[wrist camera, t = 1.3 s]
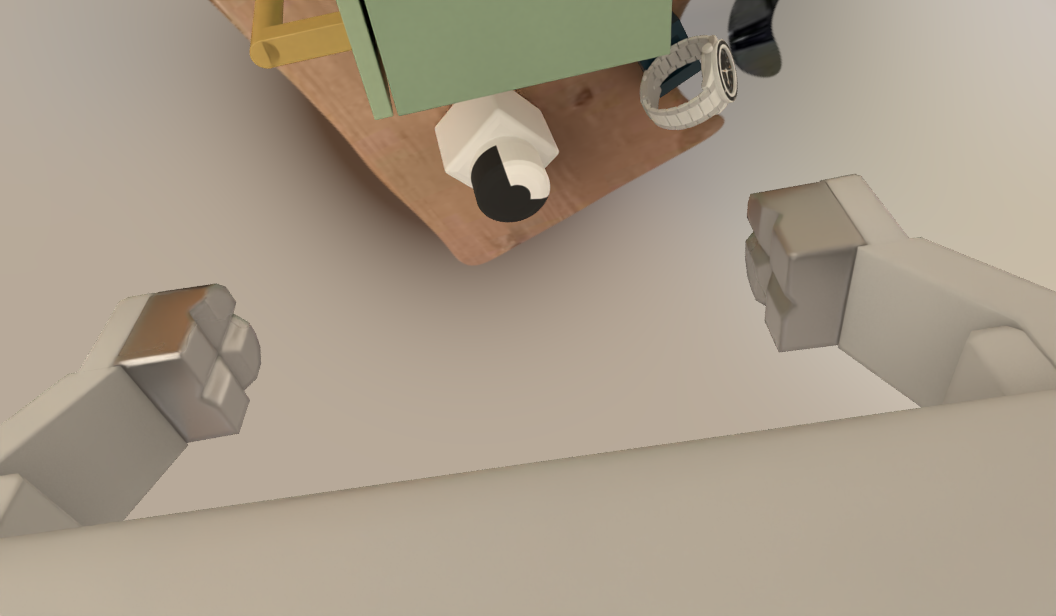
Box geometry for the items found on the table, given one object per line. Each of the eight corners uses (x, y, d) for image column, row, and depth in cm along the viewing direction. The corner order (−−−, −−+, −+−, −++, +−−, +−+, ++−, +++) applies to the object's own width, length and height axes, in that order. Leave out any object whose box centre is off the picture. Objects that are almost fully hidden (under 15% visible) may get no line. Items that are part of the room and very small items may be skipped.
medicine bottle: (492, 164, 66) (518, 245, 58) (432, 127, 62) (452, 209, 54) (541, 109, 63) (577, 186, 55) (482, 66, 59) (511, 143, 51)
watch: (708, 39, 62) (764, 100, 54) (631, 92, 64) (675, 158, 57) (685, -12, 58) (741, 47, 51) (604, 46, 60) (647, 111, 53)
